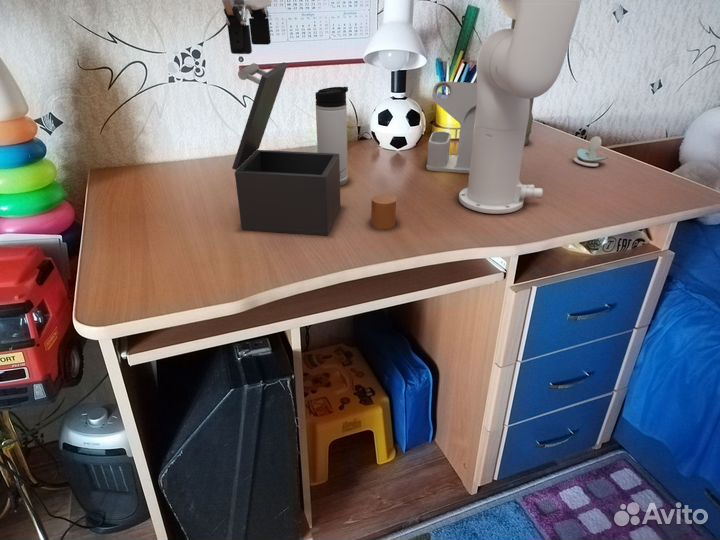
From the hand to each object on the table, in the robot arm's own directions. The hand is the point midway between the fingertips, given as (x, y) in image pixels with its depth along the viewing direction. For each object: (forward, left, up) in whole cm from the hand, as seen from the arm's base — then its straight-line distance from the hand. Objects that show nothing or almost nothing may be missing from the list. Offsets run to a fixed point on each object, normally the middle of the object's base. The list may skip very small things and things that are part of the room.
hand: (252, 48), depth 87 cm
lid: (-1, 0, -11) cm, 11 cm away
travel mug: (-9, -19, -30) cm, 37 cm away
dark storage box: (-5, 0, -30) cm, 30 cm away
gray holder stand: (-37, -34, -30) cm, 59 cm away
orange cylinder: (-22, 0, -30) cm, 37 cm away
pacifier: (-66, -40, -30) cm, 83 cm away
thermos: (-49, -55, -30) cm, 80 cm away
